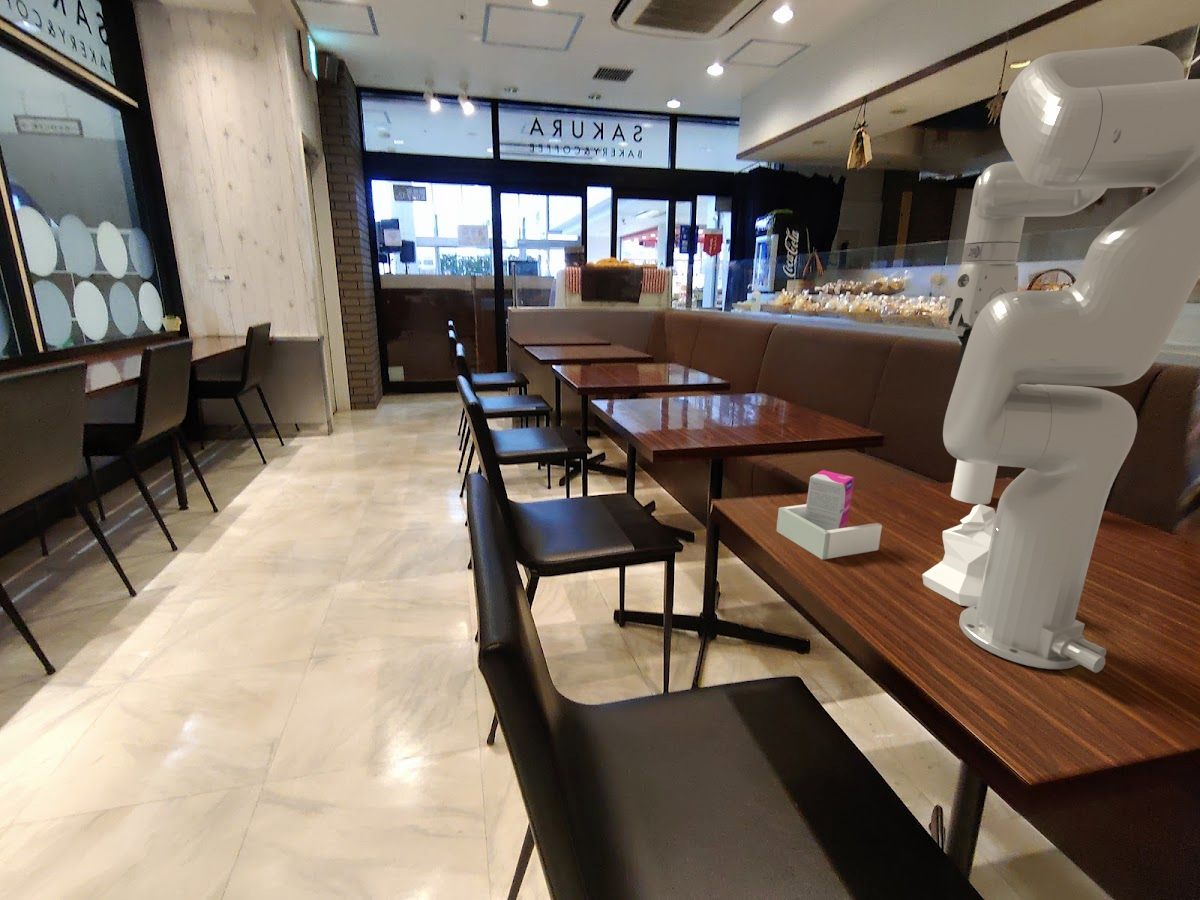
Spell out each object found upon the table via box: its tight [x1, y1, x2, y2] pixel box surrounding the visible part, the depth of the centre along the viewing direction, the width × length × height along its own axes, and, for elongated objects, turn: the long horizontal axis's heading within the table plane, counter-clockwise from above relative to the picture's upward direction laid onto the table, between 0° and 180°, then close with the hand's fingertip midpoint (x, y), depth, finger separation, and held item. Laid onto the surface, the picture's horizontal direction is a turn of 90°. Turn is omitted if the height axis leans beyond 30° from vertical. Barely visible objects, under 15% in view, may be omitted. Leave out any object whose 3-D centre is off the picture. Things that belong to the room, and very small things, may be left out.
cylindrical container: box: [950, 459, 999, 505], centre depth 119 cm, size 7×7×25 cm
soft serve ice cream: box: [921, 504, 996, 607], centre depth 82 cm, size 12×15×14 cm
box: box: [776, 503, 883, 560], centre depth 100 cm, size 12×12×4 cm
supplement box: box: [805, 469, 856, 530], centre depth 100 cm, size 6×6×12 cm
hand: (969, 369), depth 99 cm, fingers closed
